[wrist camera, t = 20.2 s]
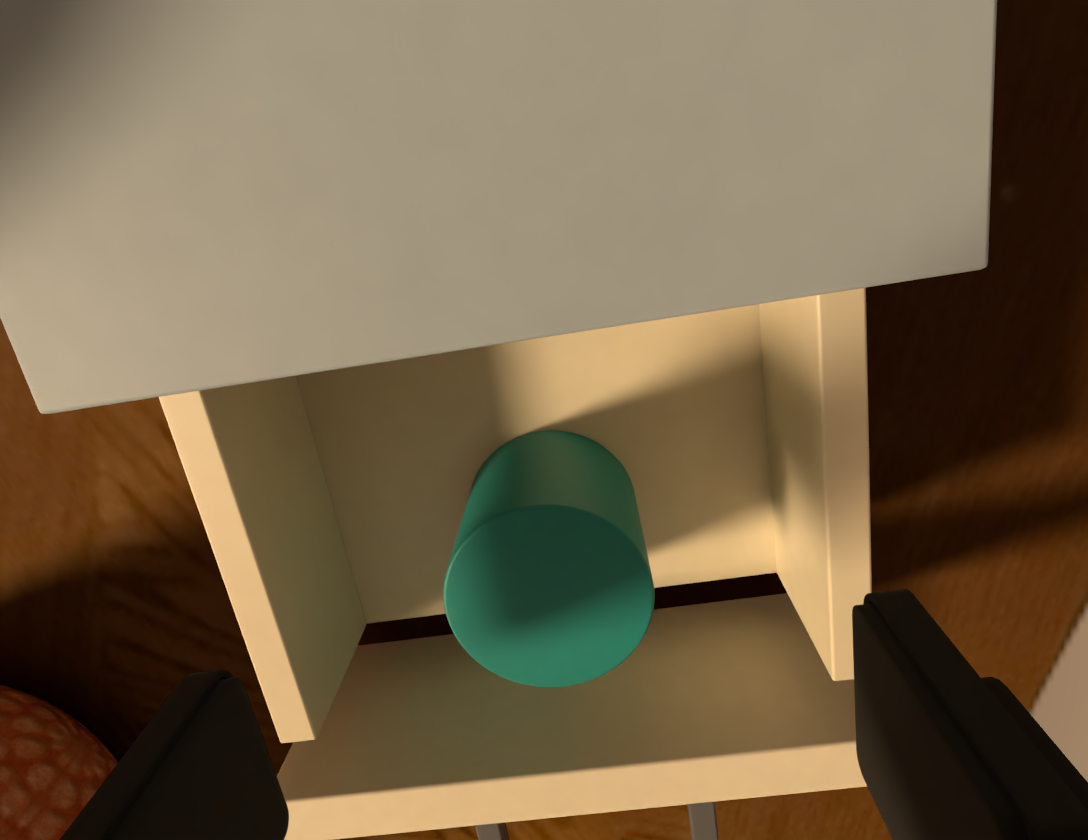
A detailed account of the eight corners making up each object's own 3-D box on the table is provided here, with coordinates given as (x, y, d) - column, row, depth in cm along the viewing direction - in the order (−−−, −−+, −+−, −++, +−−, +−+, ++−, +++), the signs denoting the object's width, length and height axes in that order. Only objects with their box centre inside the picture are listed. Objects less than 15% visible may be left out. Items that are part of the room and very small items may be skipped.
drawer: (833, 775, 21) (916, 962, 16) (390, 819, 22) (338, 1009, 17) (803, 83, 15) (919, 42, 10) (198, 191, 16) (35, 202, 11)
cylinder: (625, 417, 17) (641, 491, 13) (645, 569, 18) (666, 676, 14) (454, 442, 17) (421, 521, 13) (486, 589, 18) (465, 699, 14)
